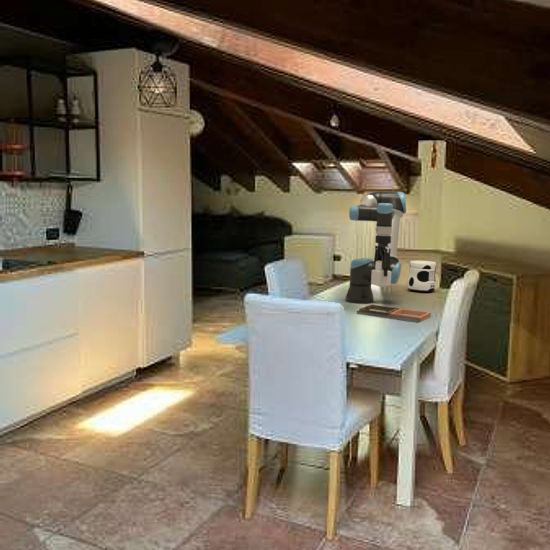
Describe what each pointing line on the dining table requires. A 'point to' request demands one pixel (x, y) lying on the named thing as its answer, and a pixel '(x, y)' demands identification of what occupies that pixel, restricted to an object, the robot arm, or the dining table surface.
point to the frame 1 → (377, 307)
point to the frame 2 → (422, 314)
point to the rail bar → (388, 316)
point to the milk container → (422, 276)
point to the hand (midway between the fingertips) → (380, 281)
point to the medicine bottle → (379, 275)
